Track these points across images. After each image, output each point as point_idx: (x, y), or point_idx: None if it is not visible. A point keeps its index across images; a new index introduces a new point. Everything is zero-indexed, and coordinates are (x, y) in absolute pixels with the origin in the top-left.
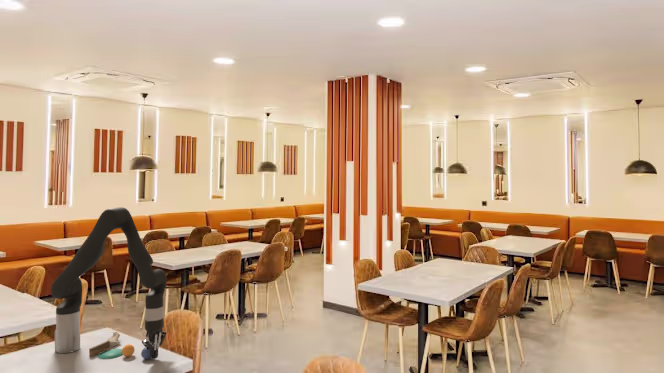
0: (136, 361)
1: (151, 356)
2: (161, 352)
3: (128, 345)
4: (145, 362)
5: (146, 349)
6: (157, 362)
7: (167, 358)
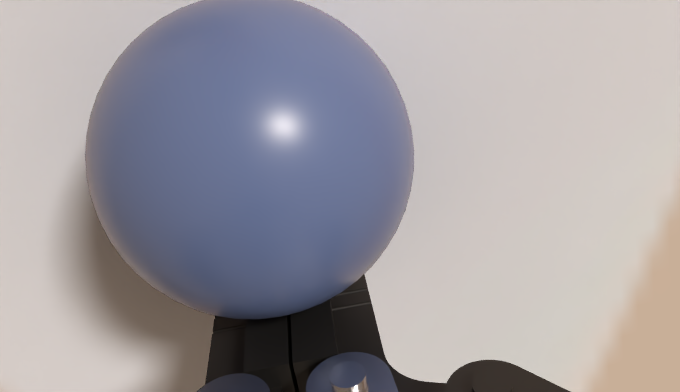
0: (30, 2)
1: None
2: (629, 90)
3: None
4: None
5: (166, 272)
6: None
7: None
